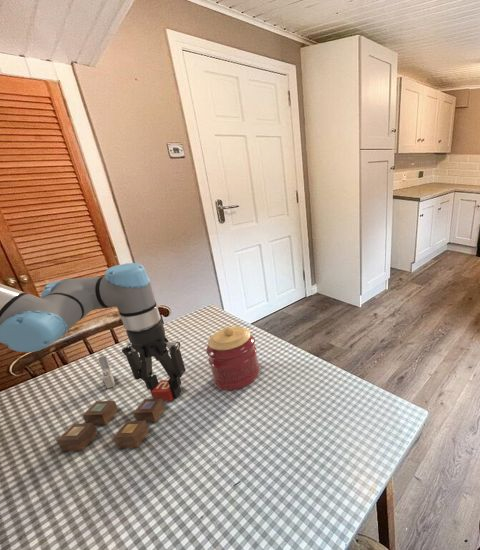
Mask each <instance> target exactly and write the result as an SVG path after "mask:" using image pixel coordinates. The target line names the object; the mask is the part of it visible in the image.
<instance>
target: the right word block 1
mask: <svg viewBox="0 0 480 550" xmlns="http://www.w3.org/2000/svg"><path fill="white" fill-rule="evenodd" d="M149 432H150V428H149V425H148V423H146V420H145V421H136V420H128V421H125V422H124V424H123V425H122V426H121V427H120V428H119V429H118V431H117V432H116V433H115V434H114V436H113V437H112V438H113V441H114V443H115V446H116V448H117V449H133V448H134V449H135V448H139V447H140V445H141V444H142V443H143V441H144V440H145V438H146V437H147V436H148V434H149Z"/></svg>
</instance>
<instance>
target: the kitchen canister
mask: <svg viewBox="0 0 480 550" xmlns="http://www.w3.org/2000/svg"><path fill="white" fill-rule="evenodd" d="M255 343H256V340H255V337H254V335H253V334H251V331H250V329H248V328H246V327H241V326H229V325H228V326H226V327H224V328H221V329H219V330H218V331H216V332H215V333H214V334H212V335H211V336H210V337H209V338H208V341H207V347H206V350H205V351H206V355H207V356H208V364H209V366H210V370H211V374H212V381H213V383H214V385H215V387H216V388H218V389H219V390H222V391H226V392H227V391H228V392H229V391H231V392H232V391H237V390H241V389H244V388H246V387H247V386H250V384H252V383H253V382H255V381H256V379H258V377H259V374H260V364H259V361H258V354H257V347H256V345H255Z"/></svg>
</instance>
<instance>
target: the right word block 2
mask: <svg viewBox="0 0 480 550" xmlns="http://www.w3.org/2000/svg"><path fill="white" fill-rule="evenodd" d="M164 402H165V401H163V399H153V398H144V399H143V400H142V401H141V403H140V404H139V405H138V406H137V407H136V409H135V410H134V411H133V415H134V419H135V421H145V420H146V423H147V424H148V423H149V424H150V423H157V421H158V420H159V419H160V417H161V416H162V415H163V413H164V411H165V410H166V406H165V405H166V404H165V403H164Z"/></svg>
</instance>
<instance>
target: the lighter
mask: <svg viewBox="0 0 480 550" xmlns="http://www.w3.org/2000/svg"><path fill="white" fill-rule="evenodd" d="M97 360H98V362H99V365H100V369H101V372H102V379H103V382H104V384H105V387H106V389H110V388H114V387H115V385H116V384H115V378H114V375H113V373H112V371H111V366H110V363H109V360H108V357H107V355H102V356H98V359H97Z"/></svg>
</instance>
